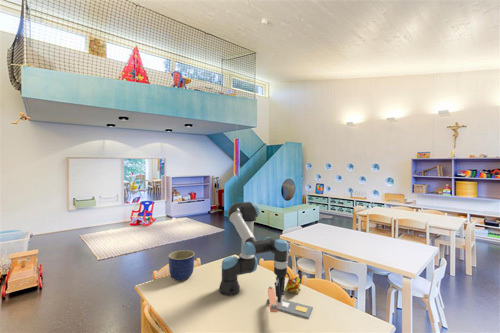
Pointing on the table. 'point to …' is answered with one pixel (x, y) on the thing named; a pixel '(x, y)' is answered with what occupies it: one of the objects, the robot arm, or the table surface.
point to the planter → (181, 264)
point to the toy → (293, 284)
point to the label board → (295, 308)
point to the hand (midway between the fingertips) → (279, 306)
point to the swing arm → (272, 299)
